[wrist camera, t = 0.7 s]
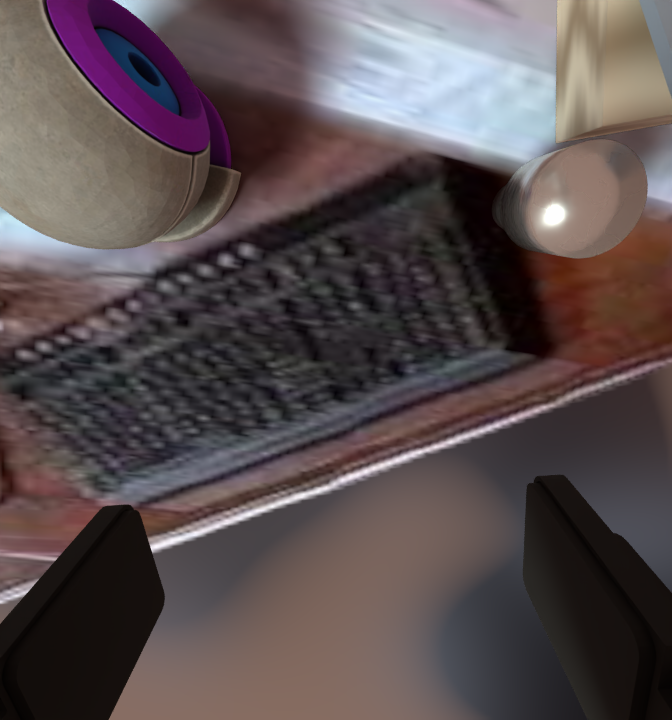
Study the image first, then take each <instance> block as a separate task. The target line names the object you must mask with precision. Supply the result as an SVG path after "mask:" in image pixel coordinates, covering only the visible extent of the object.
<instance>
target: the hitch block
mask: <svg viewBox="0 0 672 720" xmlns="http://www.w3.org/2000/svg"><path fill="white" fill-rule="evenodd" d="M671 123H672V98H671V95H670V92H669V89H668V86H667V83H666V80H665V77H664V74H663V71H662V68H661V65H660V62H659V59H658V56H657V53H656V50H655V47H654V44H653V41H652V38H651V35H650V32H649V29H648V26H647V23H646V20H645V17H644V14H643V11H642V8H641V5H640V2H639V0H557V71H556V143H561V142H567V141H573V140H578V139H584V138H590V137H596V136H601V135H607V134H613V133H619V132H624V131H630V130H636V129H642V128H648V127H653V126H659V125H665V124H671Z"/></svg>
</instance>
